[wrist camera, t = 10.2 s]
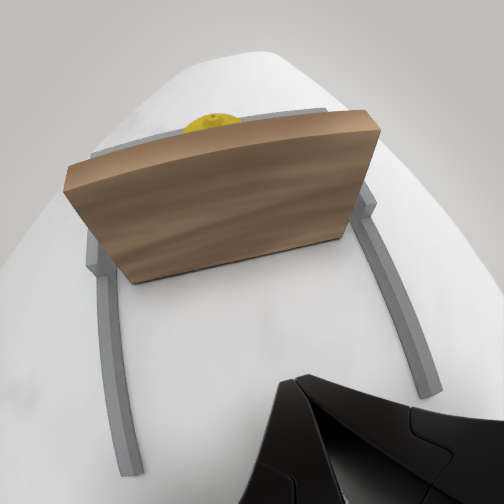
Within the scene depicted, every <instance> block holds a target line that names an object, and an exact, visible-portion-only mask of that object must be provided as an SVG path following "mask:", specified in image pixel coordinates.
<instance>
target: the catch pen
mask: <svg viewBox="0 0 504 504" xmlns="http://www.w3.org/2000/svg"><path fill="white" fill-rule="evenodd" d="M322 112H328V111H327V110H326V108H314V109H303V110H294V111H285V112H276V113H269V114H261V115H254V116H248V117H241V118H239V119H240V120H242V121H243V122H247V121H253V120H260V119H267V118H275V117H283V116H291V115H300V114H310V113H322ZM184 129H185V128H183V129H179V130H175V131H170V132H166V133H162V134H158V135H154V136H150V137H146V138H142V139H139V140H135V141H131V142H128V143H124V144H121V145H117V146H114V147H111V148H107V149H104V150H101V151H98V152H95V153H92V154H91V156H90V159H92V158H95V157H98V156H101V155H104V154H108V153H111V152H114V151H118V150H121V149H124V148H128V147H132V146H135V145H139V144H143V143H146V142H150V141H154V140H158V139H162V138H166V137H171V136H175V135H179V134H181V133H182V132H183V130H184ZM376 204H377V202H376V200H375V198H374V196H373V195H372V193H371V191H370V190H369V188H368V186H367V184H366V183H365V181H363V184H362V187H361V190H360V192H359V195H358V198H357V200H356V203H355V206H354V208H353V211H352V213H351V216H350V219H349V221H350V223H351V225H352V227H353V229H354V231H355V233H356V235H357V238H358V240H359V242H360V244H361V246H362V248H363V250H364V253H365V255H366V257H367V259H368V262H369V264H370V266H371V268H372V271H373V273H374V275H375V277H376V280H377V282H378V285H379V287H380V289H381V292H382V294H383V296H384V299H385V301H386V304H387V306H388V309H389V311H390V314H391V316H392V319H393V322H394V324H395V327H396V329H397V332H398V335H399V337H400V340H401V343H402V346H403V348H404V351H405V354H406V357H407V360H408V363H409V366H410V369H411V372H412V375H413V378H414V381H415V384H416V387H417V390H418V393H419V397H420V399H422V398H427V397H431V396H434V395H436V394H438V393H439V392H441V391H443V389H442V386H441V383H440V380H439V377H438V373H437V370H436V367H435V365H434V362H433V359H432V356H431V353H430V350H429V347H428V345H427V342H426V339H425V337H424V334H423V331H422V329H421V326H420V324H419V321H418V319H417V316H416V314H415V311H414V309H413V306H412V304H411V301H410V299H409V297H408V294H407V292H406V290H405V287H404V285H403V283H402V281H401V278H400V276H399V274H398V272H397V270H396V267H395V265H394V263H393V261H392V259H391V257H390V255H389V253H388V250H387V248H386V246H385V244H384V242H383V240H382V238H381V236H380V234H379V232H378V230H377V228H376V226H375V224H374V222H373V221H372V219H371V215H372V213H373V211H374V208H375V206H376ZM86 267H87V268H88V269H89V270H90V271H91V272H92V273H93V274H94V275H95V276H96V277H97V317H98V335H99V348H100V359H101V369H102V378H103V386H104V393H105V400H106V407H107V413H108V419H109V424H110V430H111V435H112V440H113V445H114V450H115V454H116V459H117V463H118V467H119V471H120V475H121V477H124V476H136V475H139V474H141V473H144V471H143V467H142V463H141V459H140V454H139V450H138V446H137V441H136V436H135V432H134V427H133V422H132V416H131V411H130V405H129V399H128V393H127V387H126V380H125V373H124V365H123V357H122V348H121V338H120V328H119V315H118V300H117V280H116V264H115V263H114V261H113V260H112V259H111V258H110V256H109V255H108V254H107V252H106V251H105V250H104V249H103V247H102V246H101V245H100V243H99V242H98V241H97V239H96V238H95V237H94V235H93V234H92V233H91V231H90V230H89V228H88V234H87V251H86Z"/></svg>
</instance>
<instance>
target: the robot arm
mask: <svg viewBox="0 0 504 504" xmlns="http://www.w3.org/2000/svg"><path fill="white" fill-rule="evenodd" d="M340 488H341V490H342V492H343V493H344V495H345V496H346V498H347V499H348V501H349V503H350V504H504V421H499V420H486V419H476V418H467V417H459V416H453V415H446V414H441V413H437V412H432V411H428V410H424V409H420V408H416V407H411V408H410V406H407V405H403V404H399V403H396V402H393V401H389V400H386V399H382V398H379V397H376V396H373V395H369V394H366V393H363V392H360V391H357V390H354V389H351V388H348V387H345V386H342V385H339V384H336V383H333V382H330V381H327V380H324V379H321V378H319V377H316V376H313V375H310V374H307V375H303V376H300V377H297V378H295V380H294V379H289V380H286V381H282V382H280V383H279V384H278V388H277V391H276V395H275V399H274V402H273V406H272V409H271V413H270V416H269V419H268V423H267V426H266V430H265V433H264V436H263V440H262V443H261V446H260V449H259V453H258V456H257V459H256V462H255V464H254V467H253V470H252V473H251V476H250V478H249V481H248V484H247V486H246V489H245V491H244V493H243V495H242V497H241V499H240V501H239V503H238V504H345V501H344V498H343V495H342V492H341V490H340Z"/></svg>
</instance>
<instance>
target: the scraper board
mask: <svg viewBox="0 0 504 504" xmlns="http://www.w3.org/2000/svg"><path fill="white" fill-rule="evenodd" d="M380 132H381V129H380V128H379V127H378V125H377V124H376V123H375V121H374V120H373V119H372V118H371V117H370V115H369V114H368V113H367V112H366V111H365V110H351V111H335V112H322V113H310V114H300V115H291V116H283V117H275V118H267V119H260V120H253V121H247V122H241V123H235V124H229V125H223V126H218V127H213V128H208V129H203V130H198V131H193V132H188V133H184V134H179V135H175V136H171V137H166V138H162V139H158V140H154V141H150V142H146V143H143V144H139V145H135V146H132V147H128V148H124V149H121V150H118V151H114V152H111V153H108V154H104V155H101V156H98V157H95V158H92V159H89V160H86V161H83V162H80V163H77V164H74V165H71V166H69V167H68V171H67V175H66V180H65V185H64V190H63V193H64V194H65V196H66V197H67V199H68V200H69V202H70V203H71V205H72V206H73V207H74V209H75V210H76V212H77V213H78V215H79V216H80V217H81V219H82V220H83V222H84V223H85V224H86V226H87V227H88V228H89V230H90V231H91V233H92V234H93V235H94V237H95V238H96V239H97V241H98V242H99V243H100V245H101V246H102V247H103V249H104V250H105V251H106V252H107V254H108V255H109V256H110V258H111V259H112V260H113V261H114V263H115V264H116V265H117V266H118V268H119V269H120V270H121V271H122V273H123V274H124V275H125V276H126V278H127V279H128V280H129V281H130V282H131V284H134V283H139V282H143V281H148V280H152V279H157V278H161V277H166V276H170V275H175V274H180V273H184V272H189V271H193V270H198V269H202V268H207V267H211V266H216V265H220V264H225V263H229V262H234V261H238V260H242V259H247V258H251V257H256V256H260V255H265V254H269V253H274V252H278V251H283V250H287V249H291V248H296V247H300V246H305V245H309V244H313V243H318V242H322V241H327V240H331V239H335V238H340V237H342V236H343V234H344V231H345V229H346V226H347V224H348V221H349V219H350V216H351V213H352V211H353V208H354V206H355V203H356V200H357V198H358V195H359V192H360V190H361V187H362V184H363V181H364V179H365V176H366V173H367V170H368V167H369V165H370V162H371V159H372V156H373V153H374V150H375V147H376V144H377V141H378V138H379V135H380Z"/></svg>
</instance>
